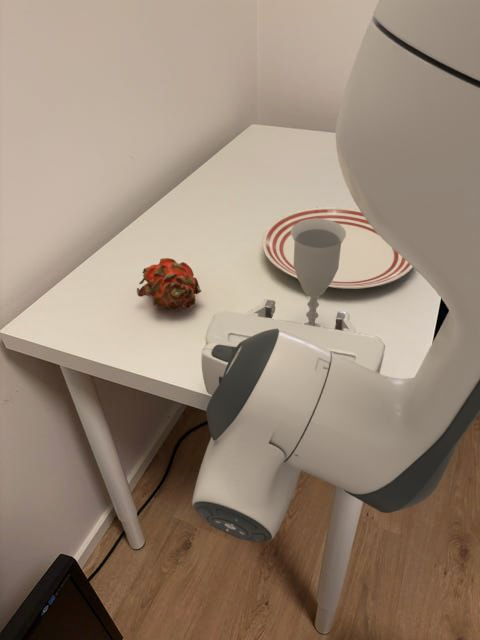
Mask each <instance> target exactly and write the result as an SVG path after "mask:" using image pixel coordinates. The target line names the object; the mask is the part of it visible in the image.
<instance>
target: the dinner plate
mask: <svg viewBox="0 0 480 640" xmlns="http://www.w3.org/2000/svg"><path fill="white" fill-rule="evenodd" d="M315 218H316V219H326V220H331V221H334V222H336V223H338V224H340V225H341V226H342V227H343V228H344V229H345V231H346V237H345V239H344V240H343V242H342V243H341V249H340V258H339V267H338V271H337V272H336V274H335V276H334V278H333V280H332V282H331V284H330V285H329V286H328V288H335V289H347V290H348V289H350V290H352V289H354V290H357V289H366V288H374V287H379V286H383V285H386V284H390V283H392V282H395V281H397V280H399V279H401V278H403V277H404V276H405V275H407V274H408V273H409V272H410V271H411V270H412V269H414V267H413V266H412V265H411V264H409V263H408V262H407V261H406V260H405V259H404V258H403V257H402V256H401V255H400V254H398V253H397V252H396V251H395V250H394V249H393V248H392V247H391V246H389V245H388V244H387V243H386V242H385V241H384V240H383V239H382V238H381V237H380V236H379V235H378V233H377V232H376V231H375V230H374V229H373V227H372V226H371V225H370V224H369V222H368V221H367V220H366V218H365V217H364V215H363V214H362V212H361V211H360V209H356V208H349V207H338V206H322V207H321V206H320V207H312V208H311V207H310V208H305V209H300V210H296V211H292V212H290V213H287V214H285V215H282V216H281V217H279V218H277V219H275V220H274V221H273V222H272V223H271V224H270V225H269V226H268V227H267V228H266V229H265V232H264V234H263V237H262V241H261V242H262V243H261V244H262V249H263V252H264V254H265V256H266V257H267V259H268V260H269V262H271V263H272V265H274V266H275V267H276V268H278V269H279V270H281V271H282V272H283V273H285V274H287V275H289V276H291V277H292V278H295V279H298V278H297V275H296V272H295V269H294V239H293V237H292V235H291V229H292V228H293V226H294V225H295V224H297V223H298V222H300V221H303V220H307V219H315Z"/></svg>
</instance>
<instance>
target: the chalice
mask: <svg viewBox="0 0 480 640" xmlns="http://www.w3.org/2000/svg"><path fill="white" fill-rule="evenodd" d="M291 235H292V237H293V239H294V269H295V272H296V275H297V278H296V279H297V280H298V282H299V284H300V286H301V288H302V291H303V292H304V293H305V294H306V296H309V300H308V302H307V307H308V309H309V310H308V311H307V312H306V313H305V316H306V317H307V319H308V322H305V323H304V324H305V325H311V326H317V327H322V326H321V325H320V324H318V323H316V320H317V318H319V313H318V312H317V308H318V307H319V305H320V304H319V302H318V297H321V296H322V295H324V293H325V292H326V290H327V289H328V288H329V287H328V286H329V285H330V284H331V282H332V280H333V278H334V276H335V274H336V272H337V271H338V267H339V258H340V249H341V243H342V242H343V240H344V239H345V237H346V231H345V229H344V228H343V227H342V226H341V225H340V224H338V223H336V222H334V221H331V220H326V219H316V218H315V219H307V220H303V221H300V222H298V223H297V224H295V225H294V226H293V228H292V229H291Z"/></svg>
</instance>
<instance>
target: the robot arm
mask: <svg viewBox="0 0 480 640" xmlns="http://www.w3.org/2000/svg"><path fill="white" fill-rule="evenodd" d="M349 73H350V74H349V77H348V80H347V83H346V86H345V89H344V92H343V96H342V99H341V102H340V107H339V111H338V114H337V118H336V122H335V130H334V131H335V133H334V134H335V148H336V149H335V150H336V154H337V161H338V164H339V168H340V171H341V175H342V177H343V180H344V182H345V184H346V187H347V189H348V191H349V193H350V196H351V198H352V199H353V201H354V203H355V205H356V207H357V209H358V210H360V211H361V212H362V214H363V215H364V217H365V218H366V220H367V221H368V222H369V224H370V225H371V226H372V227H373V229H374V230H375V231H376V232H377V233H378V235H379V236H380V237H381V238H382V239H383V240H384V241H385V242H386V243H387V244H388V245H389V246H391V247H392V248H393V249H394V250H395V251H396V252H397V253H398V254H400V255H401V256H402V257H403V258H404V259H405V260H406V261H407V262H408V263H409V264H411V265H412V266H413V269H414V270H415V271H416V272H418V274H419V275H421V276H422V278H424V280H425V281H426V282H427V283H428V284H429V285H430V286H431V287H432V288H433V290H434V292H436V293H437V294H438V296H439V297H440V299H441V300H442V301H443V302H444V304H445V306H446V308H447V309H448V313H447V314H446V316H445V318H444V320H443V322H442V324H441V325H440V328H439V330H438V332H437V334H436V336H435V337H434V339H433V341H432V343H431V345H430V347H429V349H428V351H427V352H426V355H425V357H424V359H423V361H422V362H421V363H420V366H419V368H418V370H417V372H416V374H415V376H413V377H411V378H399V377H398V378H397V377H391V376H388V375H385V374H382V373H381V369H382V364H383V361H384V356H385V350H386V343H385V342H384V341H383V340H382V339H381V338H380V337H378V336H375V335H369V334H362V333H358V332H356V328H355V327H354V326H353V324H352V323H351V321H350V318H351V317H350V315H351V312H346V311H340V310H338V311H337V314H336V317H335V325H334V328H327V327H322V326H321V327H317V326H311V325H305V323H300V322H299V323H298V322H292V321H286V320H281V319H277V318H276V319H275V318H273V317H274V314H275V312H276V300H273V299H265V298H263V299H262V302H261V304H260V305H259V306H256V307H254V308H252V309H250V310H249V311H247V314H246V313H240V312H235V311H229V310H223V311H219V312H217V313H216V314H214V316H213V317H212V319H211V320H210V323H209V325H208V328H207V329H206V334H205V337H204V338H205V339H204V340H205V346H204V347H203V348H202V350H201V373H202V379H203V383H204V387H205V391H206V392H207V394H208V395H210V396H211V397H210V399H209V401H208V404H207V407H206V411H205V415H206V416H205V417H206V421H207V425H208V429H209V430H208V431H209V433H210V440H209V442H208V444H207V447H206V450H205V453H204V456H203V458H202V462H201V464H200V468H199V470H198V471H199V472H198V475H197V478H196V482H195V486H194V490H193V495H192V499H191V500H192V501H191V502H192V503H191V505H192V507H193V509H194V511H195V512H196V513H197V515H198V516H199V518H201V519H202V520H203V521H205V522H206V523H207V524H208V525H209V526H211V527H213V528H215V529H217V530H219V531H221V532H222V533H225V534H227V535H230V536H231V537H234V538H236V539H239V540H244V541H248V542H251V543H262V542H270V541H272V540H273V539H274V538H275V537H276V535H277V534H278V532H279V530H280V528H281V526H282V523H283V521H284V519H285V517H286V514H287V512H288V509H289V507H290V505H291V502H292V500H293V497H294V494H295V492H296V489H297V485H298V482H299V479H300V476H301V473H302V472H304V473H306V474H308V475H311V476H313V477H314V478H317V479H319V480H321V481H324V482H326V483H328V484H331V485H332V486H335V487H337V488H339V489H341V490H342V491H344V492H345V493H346V494H348V495H350V496H352V497H353V498H355V499H357V500H359V501H361V502H363V503H365V504H366V505H368V506H369V507H371V508H373V509H375V510H376V511H378V512H380V513H384V514H390V513H394V512H399V511H402V510H406V509H408V508H412V507H413V506H416V505H418V504H420V503H422V502H424V501H425V500H427V499H428V498H429V497H430V496H431V495H432V494H433V493H434V492H435V490H436V489H437V487H438V485H439V483H440V482H441V480H442V478H443V476H444V474H445V472H446V470H447V467H448V466H449V464H450V462H451V460H452V458H453V456H454V453H455V451H456V449H457V447H458V445H459V444H460V442H461V440H462V439H463V437H464V436H465V434H466V433H467V431H468V430H469V428H470V427H471V426H472V424H473V423H474V421H476V419H477V417H478V416H479V414H480V0H378V1H377V4H376V6H375V8H374V10H373V15H372V16H371V18H370V21H369V23H368V25H367V27H366V30H365V33H364V35H363V38H362V40H361V43H360V44H359V48H358V51H357V54H356V56H355V59H354V62H353V65H352V67H351V70H350V72H349Z"/></svg>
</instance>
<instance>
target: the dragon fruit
mask: <svg viewBox="0 0 480 640" xmlns="http://www.w3.org/2000/svg"><path fill="white" fill-rule="evenodd" d="M139 275H140V276H141V273H140V274H139ZM139 275H138V276H139ZM142 277H143V278H142V279H141V281H140V282H138V284H139V285H142V284H143V283H145V281H146V283H145V284H144V285H143V286H142V287H140V288H139V287H136V294H137V296H138V297H141V298H142V297H145V296H147V297H153V302H152V305H153V307H155V308H157V309H159V310H160V309H162V308H167V309H169V310H171V311H178V310H182V309H184V308H186V309H190V308H192V307H193V306H195V305H196V295H198V294H200V293H202V290H201V287H200V285H199V281H198V279H197V277H195V276H194V271H193V269H192V267H190V265H189V264H187V263H186V262H184V261H182V262H180V263H178V262H177V261H176V260H175V259H173V258H170V257H163V258H160V260H159V263H157V264H151V265H150V266H148V267H144V268H143V269H142Z"/></svg>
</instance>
